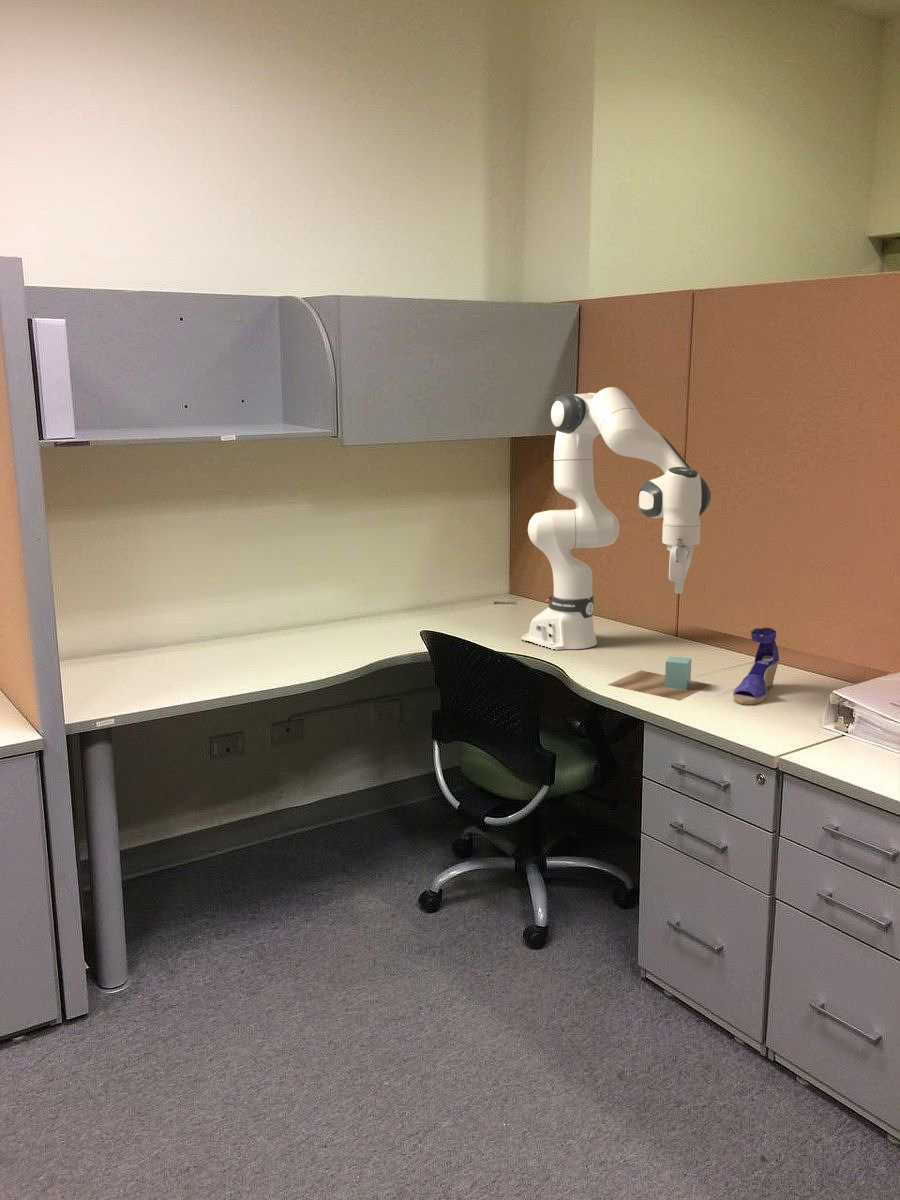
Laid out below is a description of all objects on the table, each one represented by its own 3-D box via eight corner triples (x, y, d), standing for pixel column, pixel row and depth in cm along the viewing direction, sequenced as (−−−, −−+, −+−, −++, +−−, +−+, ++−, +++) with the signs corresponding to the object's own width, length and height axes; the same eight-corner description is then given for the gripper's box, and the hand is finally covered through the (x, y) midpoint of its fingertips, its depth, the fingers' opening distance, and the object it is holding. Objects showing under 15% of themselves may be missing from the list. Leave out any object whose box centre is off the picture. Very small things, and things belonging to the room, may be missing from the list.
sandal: (720, 700, 238) (723, 639, 235) (760, 681, 252) (763, 623, 249) (752, 707, 232) (755, 645, 229) (791, 688, 246) (794, 629, 243)
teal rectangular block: (664, 687, 246) (665, 661, 244) (669, 681, 250) (670, 656, 249) (686, 689, 244) (687, 663, 242) (690, 683, 248) (691, 658, 247)
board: (607, 687, 249) (607, 684, 249) (640, 673, 260) (640, 670, 260) (679, 703, 236) (679, 700, 236) (711, 687, 247) (711, 684, 247)
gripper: (691, 543, 229) (689, 602, 232) (697, 529, 248) (695, 584, 251) (663, 542, 231) (661, 601, 234) (671, 529, 250) (669, 583, 253)
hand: (679, 592), depth 243 cm, fingers closed
